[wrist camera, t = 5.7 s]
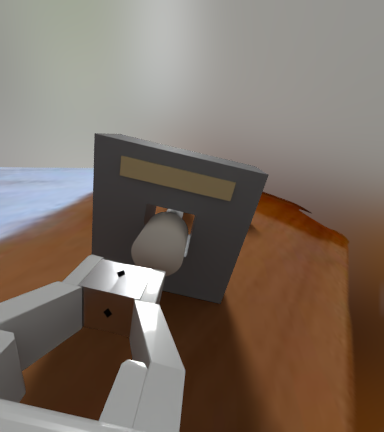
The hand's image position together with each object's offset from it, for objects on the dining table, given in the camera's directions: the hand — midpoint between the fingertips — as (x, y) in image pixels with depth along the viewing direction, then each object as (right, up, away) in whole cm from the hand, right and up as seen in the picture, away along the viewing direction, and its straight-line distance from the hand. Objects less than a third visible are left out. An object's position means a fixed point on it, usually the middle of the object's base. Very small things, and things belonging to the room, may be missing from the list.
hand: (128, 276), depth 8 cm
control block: (-2, -6, +22) cm, 23 cm away
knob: (-1, -2, +17) cm, 17 cm away
